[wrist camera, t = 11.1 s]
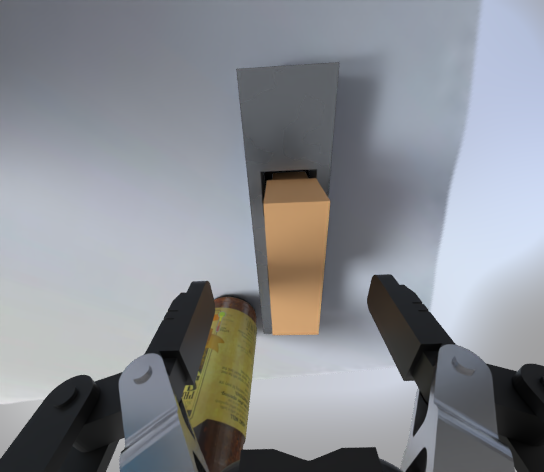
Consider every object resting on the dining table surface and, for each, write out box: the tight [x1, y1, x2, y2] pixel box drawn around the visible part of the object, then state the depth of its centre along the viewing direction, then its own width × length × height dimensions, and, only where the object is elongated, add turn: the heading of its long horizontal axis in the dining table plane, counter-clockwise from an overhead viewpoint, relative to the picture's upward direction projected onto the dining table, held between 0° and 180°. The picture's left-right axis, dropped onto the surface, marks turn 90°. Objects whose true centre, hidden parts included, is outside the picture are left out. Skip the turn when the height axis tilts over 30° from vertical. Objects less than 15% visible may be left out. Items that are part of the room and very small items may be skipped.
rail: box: [236, 62, 339, 334], centre depth 17 cm, size 5×20×4 cm, turn 3°
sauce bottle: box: [182, 297, 257, 472], centre depth 16 cm, size 6×6×20 cm
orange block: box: [263, 171, 330, 335], centre depth 15 cm, size 3×9×7 cm, turn 3°
